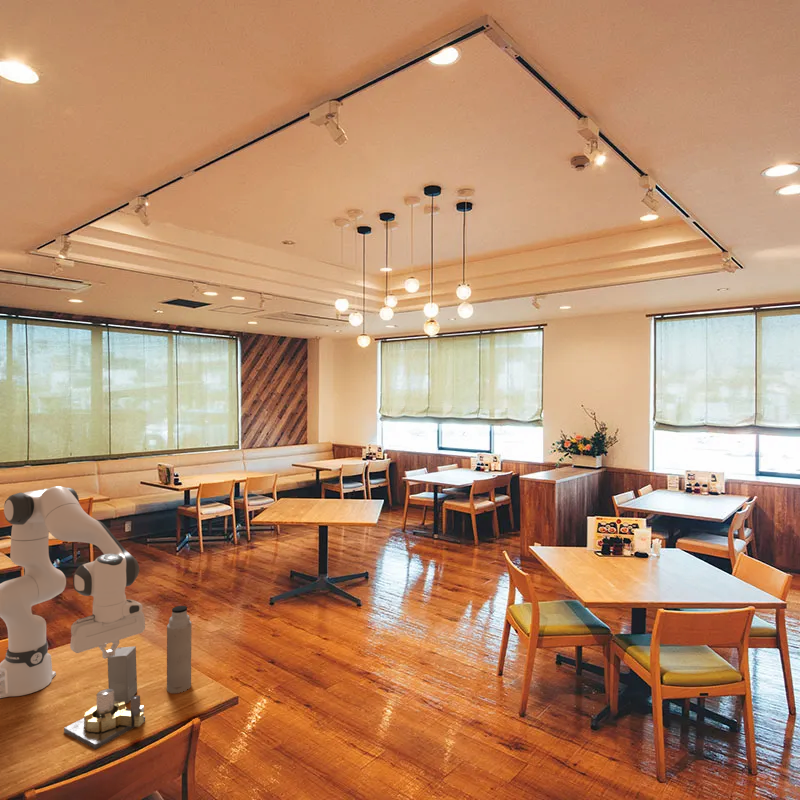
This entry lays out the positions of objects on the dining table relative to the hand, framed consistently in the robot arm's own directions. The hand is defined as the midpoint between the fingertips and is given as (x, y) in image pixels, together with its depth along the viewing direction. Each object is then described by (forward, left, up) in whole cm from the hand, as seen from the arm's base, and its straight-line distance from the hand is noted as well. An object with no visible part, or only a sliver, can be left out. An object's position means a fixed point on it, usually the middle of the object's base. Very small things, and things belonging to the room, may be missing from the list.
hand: (108, 656), depth 164 cm
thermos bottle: (-6, +30, -25) cm, 39 cm away
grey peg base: (-6, +3, -24) cm, 25 cm away
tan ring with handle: (-3, +4, -22) cm, 23 cm away
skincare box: (-17, +16, -25) cm, 34 cm away
